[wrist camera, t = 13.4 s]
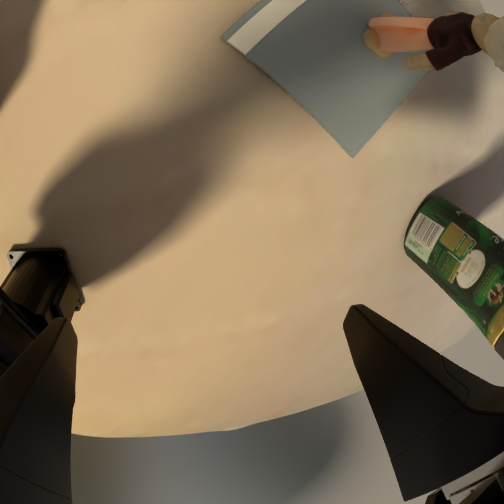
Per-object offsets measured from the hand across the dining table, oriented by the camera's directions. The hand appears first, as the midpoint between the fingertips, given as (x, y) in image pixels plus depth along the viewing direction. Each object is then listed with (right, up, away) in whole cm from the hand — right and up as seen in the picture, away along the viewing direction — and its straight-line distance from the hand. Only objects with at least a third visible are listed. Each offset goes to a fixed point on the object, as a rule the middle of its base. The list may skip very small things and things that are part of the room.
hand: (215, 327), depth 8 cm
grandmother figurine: (+11, +18, +6) cm, 22 cm away
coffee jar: (+21, +5, +18) cm, 28 cm away
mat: (+8, +18, +7) cm, 21 cm away
